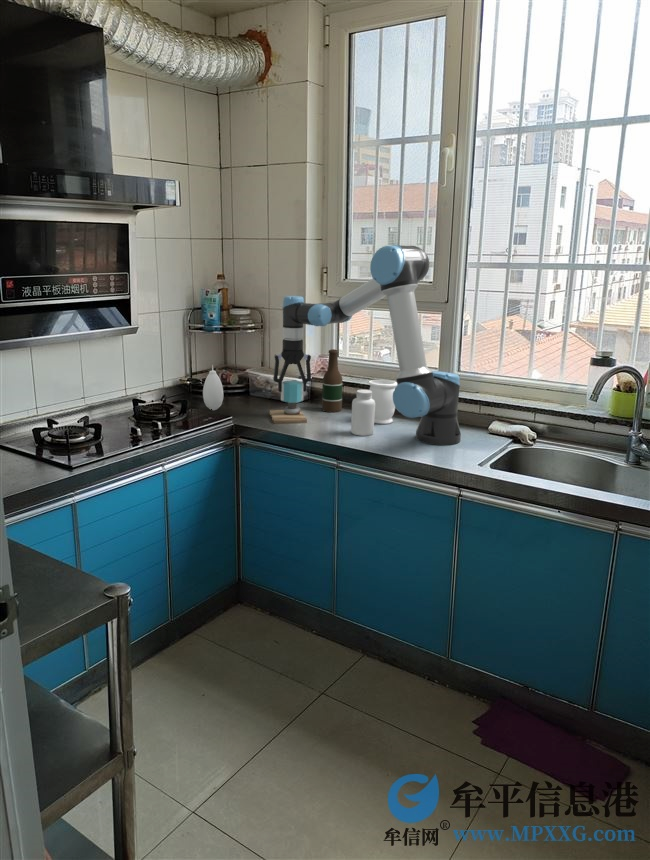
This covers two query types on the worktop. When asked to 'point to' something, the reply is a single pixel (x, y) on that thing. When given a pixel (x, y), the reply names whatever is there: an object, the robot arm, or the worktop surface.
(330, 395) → the beer bottle
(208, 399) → the white air blower bulb
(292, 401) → the turquoise hexagonal prism
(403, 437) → the worktop surface
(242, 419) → the worktop surface
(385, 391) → the jar
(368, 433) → the pill bottle
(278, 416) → the stud block
